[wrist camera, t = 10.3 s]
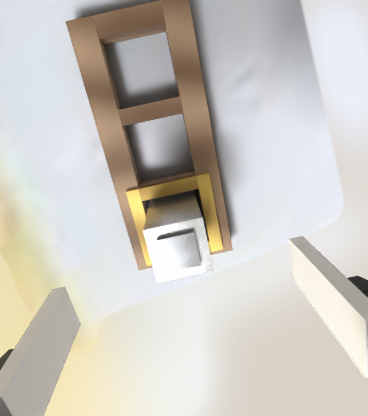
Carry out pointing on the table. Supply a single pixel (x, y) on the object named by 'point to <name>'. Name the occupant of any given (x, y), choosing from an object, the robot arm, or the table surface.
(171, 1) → the board
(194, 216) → the block
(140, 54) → the table surface
